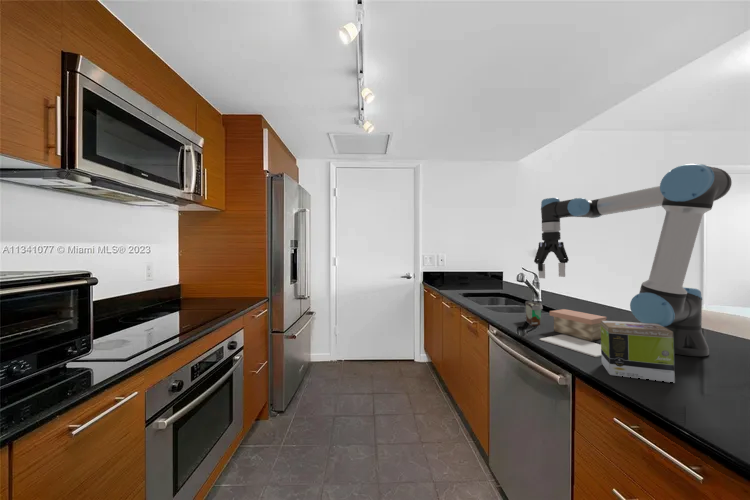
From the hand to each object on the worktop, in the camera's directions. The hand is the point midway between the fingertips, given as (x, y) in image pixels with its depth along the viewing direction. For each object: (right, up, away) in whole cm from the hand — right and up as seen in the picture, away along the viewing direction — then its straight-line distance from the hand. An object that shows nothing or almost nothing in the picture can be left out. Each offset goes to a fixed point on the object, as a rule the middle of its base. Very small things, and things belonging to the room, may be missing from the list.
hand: (552, 277), depth 143 cm
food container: (-3, -24, +9) cm, 26 cm away
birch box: (+5, -24, -10) cm, 26 cm away
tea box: (-4, -25, -50) cm, 56 cm away
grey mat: (-4, -24, -24) cm, 34 cm away
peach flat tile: (+5, -18, -11) cm, 21 cm away
